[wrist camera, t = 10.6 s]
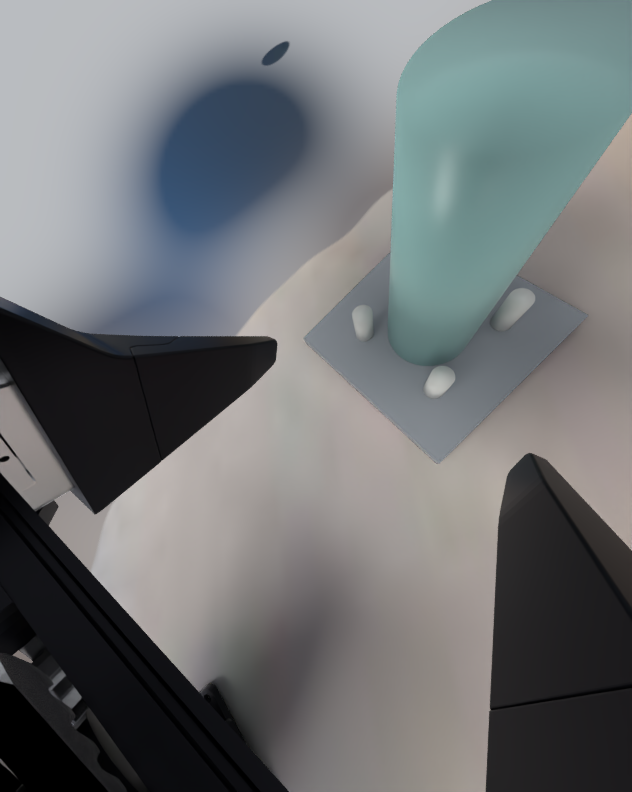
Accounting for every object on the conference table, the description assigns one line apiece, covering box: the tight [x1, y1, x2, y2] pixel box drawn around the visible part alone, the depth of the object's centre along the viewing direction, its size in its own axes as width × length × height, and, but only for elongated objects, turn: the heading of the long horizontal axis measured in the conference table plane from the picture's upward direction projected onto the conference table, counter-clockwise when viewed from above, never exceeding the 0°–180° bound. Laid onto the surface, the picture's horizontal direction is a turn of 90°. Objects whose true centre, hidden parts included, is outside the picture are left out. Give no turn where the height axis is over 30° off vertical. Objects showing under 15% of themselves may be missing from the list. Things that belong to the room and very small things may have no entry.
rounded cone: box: [388, 0, 632, 366], centre depth 11 cm, size 5×5×12 cm
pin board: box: [303, 252, 588, 463], centre depth 16 cm, size 12×12×4 cm
